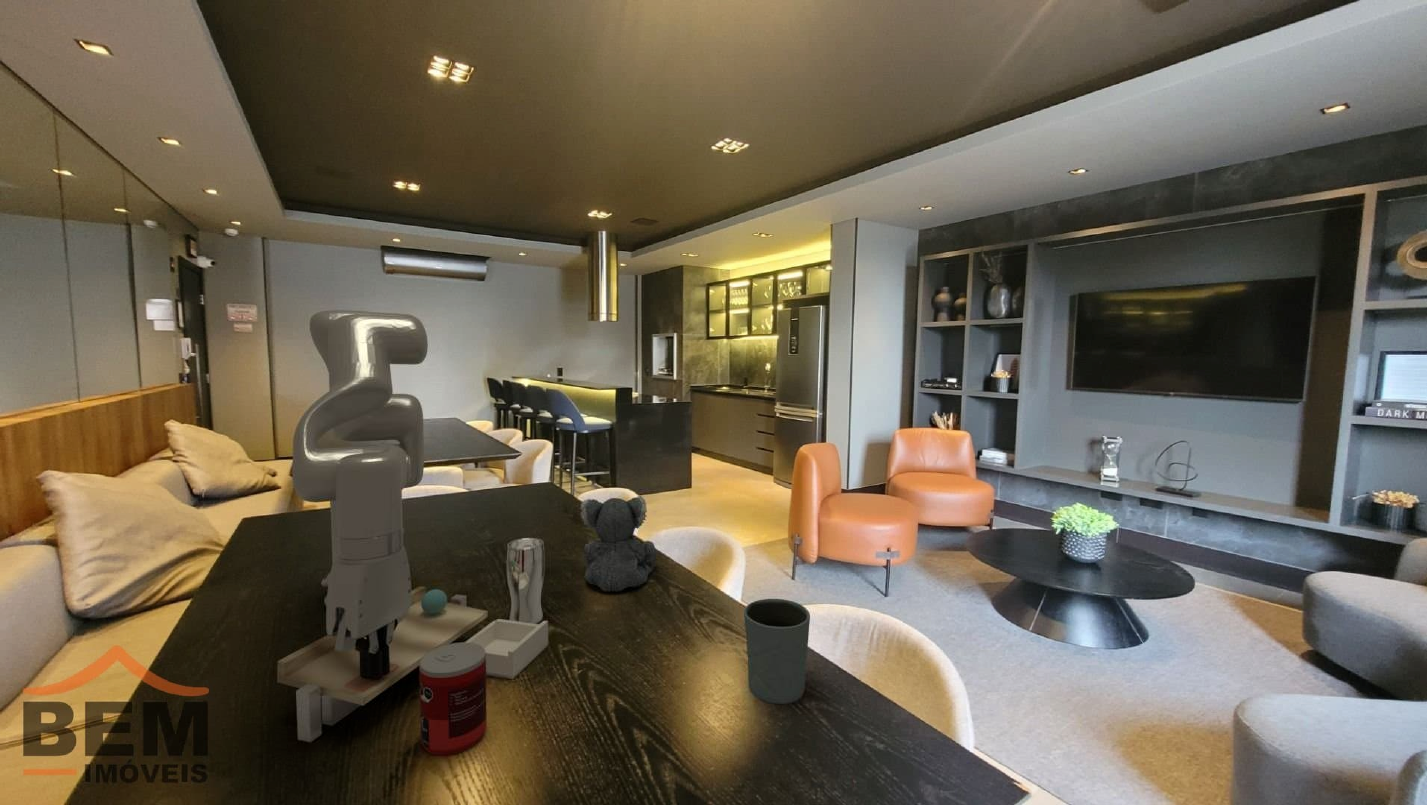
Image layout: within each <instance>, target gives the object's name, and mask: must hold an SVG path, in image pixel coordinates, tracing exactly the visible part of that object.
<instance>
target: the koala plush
mask: <svg viewBox="0 0 1427 805" xmlns="http://www.w3.org/2000/svg"><path fill="white" fill-rule="evenodd" d="M579 509H580V510H581V513H580V516H581V520H582V521H583V524H584V525H586V526H587V527H588V528H591V529H592V528H594V530H595V534H596V535H597V537H598V538H599V540H595V541H594V540H591V541H588V543H585V545H584V550H583V551H584V557H585V563H586V564H585V565H586V571H585V573H584V579H585V580H586V582H587V583H589V585H594V586H597V587H599V588H600V590H602V592H609V593H610V592H612V593H613V592H622V591H623V590H624V589H627V588H636V587H639V586H641V585H642V584H645V583H646V582H647V580H648V576H649V575H650V574H651V573H652V571H653V570H654V569H655V566H656V563H657V558H658V554H657V551H656V550H657V549H656V547H655V543H654V542H653V541H650V540H645V541H644V542H643V543H641V540H638V538H637V537H636V536H633V535H634V533H635V530H636V529H637V530H638V529H640V527H641V526H642V525H643V524H645V521H646V520H647V519H646V518H647V517H648V516H647V515H646V514H647V512H648V510H647V503H646V500H645V498H644V497H642V495H637V496H635V497H632V498H631V499H629V500H625V499H622V498H619V497H612V498H611V497H610V498H609V499H607V500H606V501H604V502H601V501H598V500H597V499H593V498H592V499H591V498H588V499H585V500H583V501H582V502H581V504H580V508H579Z"/></svg>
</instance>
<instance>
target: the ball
mask: <svg viewBox="0 0 1427 805" xmlns="http://www.w3.org/2000/svg"><path fill="white" fill-rule="evenodd" d="M447 603H448V596H447V594H446V593H445V592H444V591H443V590H442V589H441V590H440V589H432V590H429V591H426V594H425V595H424V596H423V598H422V601H421V606H422V609H423V610H424V611H425V612H426V613H428V614H436V613H439V612H441V611H442V610H443V609H444V608H445V606H446V604H447Z"/></svg>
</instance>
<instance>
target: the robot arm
mask: <svg viewBox="0 0 1427 805" xmlns="http://www.w3.org/2000/svg"><path fill="white" fill-rule="evenodd" d="M309 332H310V333H309V334H310V336H311V339H312V342H313V344H314V346H315V348H316V350H317V352H318V354H319V355H320V357H321V358H322V360H323V362H324V364H325V367H326V369H327V371H328V384H329V385H328V388H329V390H328V391H327V392H326V393H324V394H323V395H322V396H320V397H319V398H318V399H317V400H315V402H314V403H312V404H311V406H309V408H308V409H307V410H306V411H305V412H304V413H303V415H302V416H301V418H300V419H299V421H298V422H297V425H296V427H295V431H294V433H293V438H292V439H293V440H292V474H291V476H292V484H293V488H294V491H295V493H296V495H297V496H298V497H299V498H300V499H301V500H303V501H305V502H309V503H326V502H329V508H330V509H329V510H330V519H331V520H330V522H331V548H332V549H331V550H332V551H331V552H332V554H331V555H332V564H331V565H332V566H331V569H330V572H329V573H328V574H327V575H326V578H323V579H322V581H321V582H320V585H321V586H324V587H327V594H326V596H324V606H325V607H326V611H325V616H326V617H325V618H326V622H325V624H326V625H325V626H326V629H325V630H326V633H327V635H329V636H336V635H337V640H336V645H335V650H337V651H349V650H353V649H355V651H357V652H359V654H360V676H361V678H365V679H372V680H380V679H381V678H382V677H383V675H384V676H385V675H387V674H389V673H390V658H389V646H388V645H389V644H391V643H392V641H393V634H394V631H395V629H396V627H397V625H398V624H399V623H400V622H401V621H402V620H403V619H404V618H405V617H406V616H407V614H408V612H407V611H408V610H409V608H410V606H411V591H412V581H411V580H412V579H411V571H410V564H409V559H408V554H407V550H406V548H405V546H404V533H405V532H406V531H405V527H404V525H403V523H404V522H403V489H410V488H413V487H416V486H418V485H419V484H420V483H421V482H422V479H423V477H424V469H425V458H424V457H425V456H424V452H425V451H424V450H425V449H424V444H425V443H424V441H425V440H424V439H425V438H424V437H425V436H424V433H425V432H424V431H425V430H424V413H423V408H422V403H421V402H420V400H419V399H418V398H417V397H416V396H415V395H412V394H407V393H393V383H392V371H391V365H409V366H411V365H419V364H422V363H423V362H424V361H425V359H426V358H427V354H428V349H429V347H428V345H429V344H428V342H429V341H428V336H427V331H426V329H425V326H424V324H423V323H422V322H421V320H420V319H419V318H418V317H417V316H415V315H412V314H408V313H397V312H396V313H394V312H393V313H392V312H379V311H378V312H377V311H365V310H350V309H348V310H345V309H331V310H322V311H317V312H316V313H314V314H313V315H312V316H311V317H310V319H309ZM331 429H332V431H333V432H332V433H333V435H334V436H335V437H336V438H337V439H339V441H344V442H372V441H373V442H376V441H377V442H378V441H379V442H380V441H397V442H399V443H393V444H392V443H391V444H372V445H371V444H369V445H355V446H353V445H352V446H339V447H326V448H317V445H318V442H319V440H320V438H321V437H323V435H325V434H326V433H327V432H329V431H330V430H331ZM364 637H366V639H365V638H364Z"/></svg>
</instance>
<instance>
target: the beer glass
mask: <svg viewBox="0 0 1427 805" xmlns="http://www.w3.org/2000/svg"><path fill="white" fill-rule="evenodd" d="M506 546H507V550H506V565H505V566H506V569H505V570H506V579H507V584H508V585H507V586H508V589H509V594H510V599H511V608H510V613H509V619H508V620H510V621H517V622H525V623H532V624H540V623H541V621H542V620H543V618H544V615H543V610H542V604H541V603H542V602H541V599H542V596H541V595H542V589H543V584H544V577H545V572H546V571H545V570H546V568H545V567H546V557H545V556H546V555H545V546H544V541H543V539H541V538H536V537H526V538H525V537H522V538H518V539H514V540H512V541H511V540H510V542H508V543H507V545H506Z"/></svg>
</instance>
